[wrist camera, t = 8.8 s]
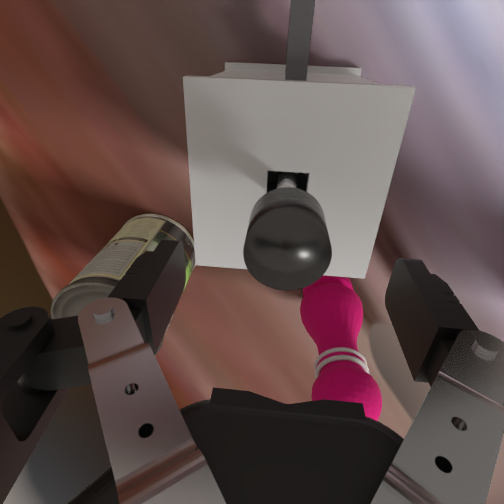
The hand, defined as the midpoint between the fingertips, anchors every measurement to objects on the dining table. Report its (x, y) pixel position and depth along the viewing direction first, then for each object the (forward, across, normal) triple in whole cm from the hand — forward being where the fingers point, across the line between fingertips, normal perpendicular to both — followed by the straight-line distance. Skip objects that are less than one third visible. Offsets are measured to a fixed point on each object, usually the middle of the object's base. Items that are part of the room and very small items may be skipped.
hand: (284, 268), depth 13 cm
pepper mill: (+24, -7, +19) cm, 32 cm away
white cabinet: (+24, 0, -2) cm, 24 cm away
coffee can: (+24, +15, +15) cm, 32 cm away
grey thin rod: (+23, 0, 0) cm, 23 cm away
